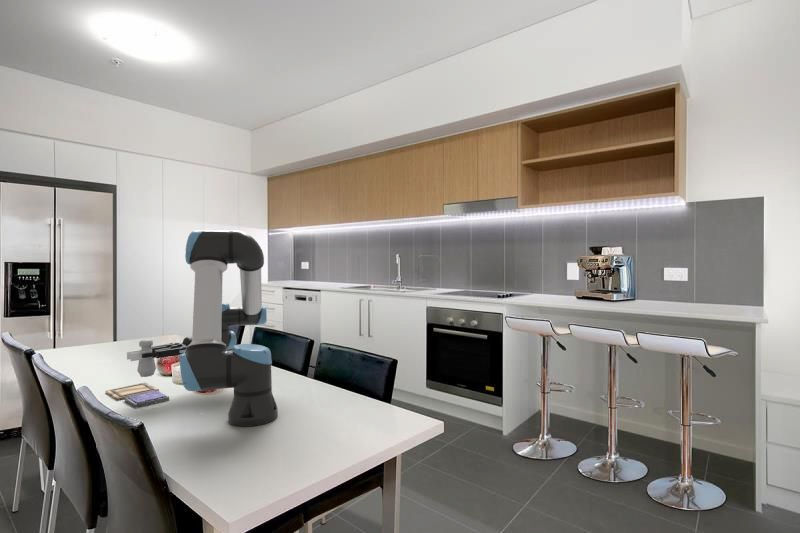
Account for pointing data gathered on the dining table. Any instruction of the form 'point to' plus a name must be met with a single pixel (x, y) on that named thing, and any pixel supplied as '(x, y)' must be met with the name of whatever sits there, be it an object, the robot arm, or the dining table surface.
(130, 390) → the marked board
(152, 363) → the salt shaker
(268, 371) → the robot arm
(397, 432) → the dining table surface
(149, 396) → the ink pad
